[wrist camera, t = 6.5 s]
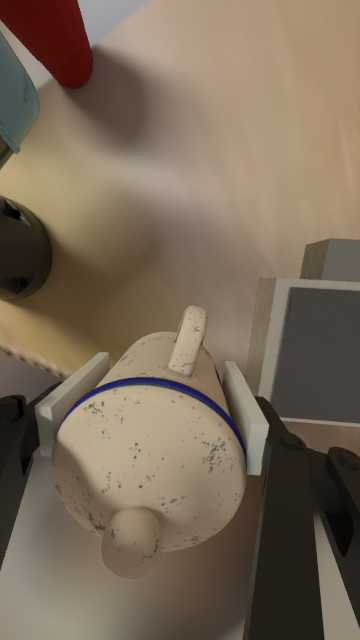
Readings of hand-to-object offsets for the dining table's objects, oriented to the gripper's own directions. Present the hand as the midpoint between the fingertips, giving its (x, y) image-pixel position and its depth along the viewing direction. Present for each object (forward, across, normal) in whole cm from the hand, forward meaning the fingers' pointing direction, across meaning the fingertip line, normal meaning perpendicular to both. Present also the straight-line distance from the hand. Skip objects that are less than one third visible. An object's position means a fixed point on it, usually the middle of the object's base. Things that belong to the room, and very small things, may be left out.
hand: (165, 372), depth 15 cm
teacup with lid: (+2, 0, 0) cm, 2 cm away
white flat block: (+17, +22, 0) cm, 28 cm away
